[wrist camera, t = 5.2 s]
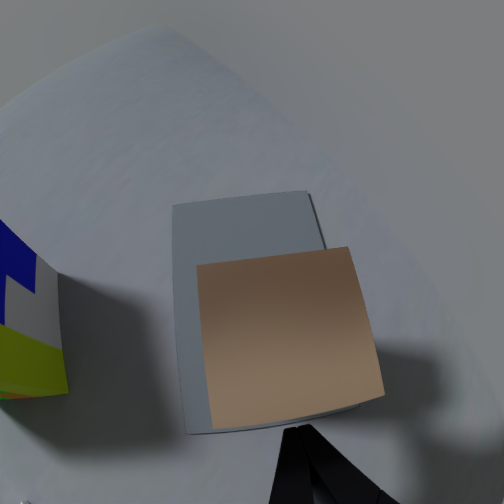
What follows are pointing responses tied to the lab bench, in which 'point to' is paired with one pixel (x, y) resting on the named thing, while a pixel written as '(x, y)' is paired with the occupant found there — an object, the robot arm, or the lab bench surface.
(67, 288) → the lab bench surface
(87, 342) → the lab bench surface
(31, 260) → the puzzle toy
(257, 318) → the walnut block
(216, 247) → the slate mat
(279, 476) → the robot arm
